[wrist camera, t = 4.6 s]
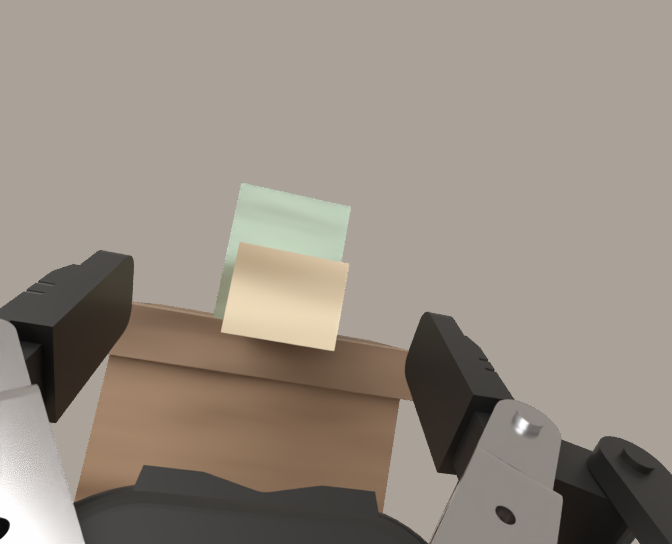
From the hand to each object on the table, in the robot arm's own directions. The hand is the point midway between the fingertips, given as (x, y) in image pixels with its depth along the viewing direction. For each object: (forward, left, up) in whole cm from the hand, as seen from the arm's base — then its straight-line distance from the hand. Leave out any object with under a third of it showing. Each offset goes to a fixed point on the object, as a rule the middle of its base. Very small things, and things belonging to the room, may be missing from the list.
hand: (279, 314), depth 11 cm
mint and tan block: (+2, +4, -1) cm, 5 cm away
